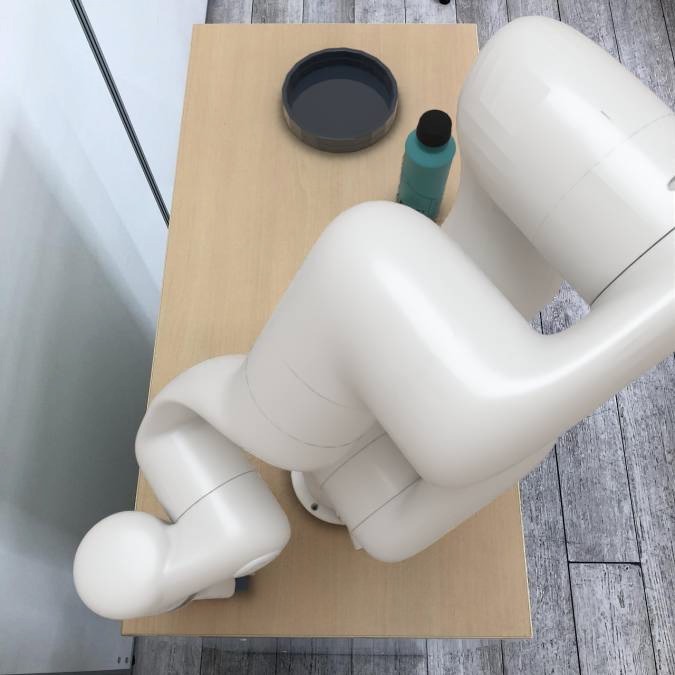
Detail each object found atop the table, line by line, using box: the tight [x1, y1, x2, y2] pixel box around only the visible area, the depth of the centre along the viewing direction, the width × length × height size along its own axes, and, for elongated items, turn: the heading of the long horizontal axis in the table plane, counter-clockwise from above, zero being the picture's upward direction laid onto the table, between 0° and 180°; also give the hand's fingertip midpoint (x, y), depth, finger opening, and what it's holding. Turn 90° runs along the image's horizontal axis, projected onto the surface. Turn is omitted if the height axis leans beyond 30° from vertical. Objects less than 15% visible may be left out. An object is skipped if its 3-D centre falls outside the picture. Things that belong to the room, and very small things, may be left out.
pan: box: [281, 46, 399, 154], centre depth 96 cm, size 17×17×4 cm
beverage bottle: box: [395, 108, 457, 222], centre depth 82 cm, size 6×7×20 cm
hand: (202, 570), depth 72 cm, fingers closed on block, 4 cm apart
